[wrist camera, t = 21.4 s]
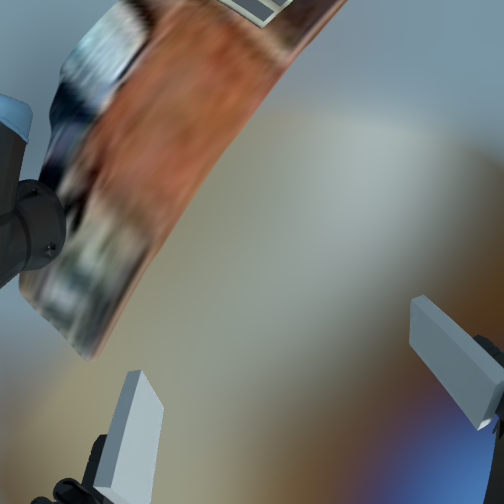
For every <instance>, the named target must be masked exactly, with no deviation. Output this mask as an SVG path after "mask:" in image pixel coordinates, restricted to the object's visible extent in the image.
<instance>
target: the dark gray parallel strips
mask: <svg viewBox="0 0 504 504" xmlns="http://www.w3.org/2000/svg"><path fill="white" fill-rule="evenodd" d="M232 1H233V2H235V3H236V4H238V5H240V6H241V7H243V8H244V9H246V10H247V11H249V12H250V13H252V14H253V15H255V16H256V17H258V18H259V19H260V20H262V21H263V22H264V21H265V20H266V19H267V18H268V17H269V16H270V15H272V14H273V13H274V11H273V10H272V9H270V8H269V7H267V6H266V5H264V4H263V3H261V2H260V1H258V0H232ZM272 1H273V2H275V3H276V4H278V5H279V6H282V5H283V4H284V3H285V2H286V1H287V0H272Z"/></svg>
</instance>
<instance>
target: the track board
mask: <svg viewBox="0 0 504 504" xmlns="http://www.w3.org/2000/svg"><path fill="white" fill-rule="evenodd" d="M219 1H220V2H222V3H224V4H225V5H227V6H228V7H230V8H232V9H233V10H235V11H236V12H238V13H239V14H241V15H242V16H244V17H245V18H247V19H248V20H250V21H251V22H253V23H254V24H255V25H257V26H258V27H260V28H261V29H262V28H263V27H264V26H265V25H266V24H267V23H268V22H269V21H271V20H272V19H273V18H274V17H275V16H276V15H277V14H278V13H279V12H280V11H281V10H283V9H284V8H285V7H286V6H287V5H288V4H289V3H291V2H292V1H293V0H287V1H286V2H285V3H284V4H283V5H282V6H279V5H278V4H276V3H275V2H273V1H272V0H258V1H260V2H261V3H263V4H264V5H266V6H267V7H269V8H270V9H272V10H273V11H274V13H273V14H272V15H270V16H269V17H268V18H267V19H266V20H265V21H264V22H263V21H262V20H260V19H259V18H258V17H256V16H255V15H253V14H252V13H250V12H249V11H247V10H246V9H244V8H243V7H241V6H240V5H238V4H236V3H235V2H233V1H232V0H219Z"/></svg>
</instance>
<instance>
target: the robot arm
mask: <svg viewBox="0 0 504 504" xmlns="http://www.w3.org/2000/svg"><path fill="white" fill-rule="evenodd" d="M32 115H33V114H32V110H31V108H30V107H29V105H28V104H26V103H24V102H22V101H19V100H17V99H14V98H11V97H8V96H5V95H2V94H0V288H2V287H3V286H4V285H5V284H6V283H7V282H9V281H10V280H11V279H12V278H14V277H15V276H16V275H17V274H18V273H20V272H21V271H28V270H35V269H40V268H42V267H44V266H46V265H48V264H49V263H50V262H51V261H53V260H54V259H55V258H56V257H57V256H58V255H59V253H60V251H61V250H62V247H63V245H64V242H65V237H66V219H65V214H64V211H63V208H62V205H61V203H60V201H59V199H58V197H57V196H56V194H55V193H54V192H53V191H52V190H51V189H50V188H49V187H48V186H47V185H45V184H44V183H42V182H40V181H37V180H33V179H27V180H22V181H19V175H20V170H21V166H22V161H23V156H24V152H25V147H26V144H28V142H29V139H28V135H29V131H30V126H31V122H32ZM409 344H410V345H411V346H412V348H413V349H414V350H415V351H416V353H417V354H418V355H419V356H420V357H421V358H422V360H423V361H424V362H425V363H426V365H427V366H428V367H429V368H430V369H431V371H432V372H433V373H434V374H435V376H436V377H437V378H438V380H439V381H440V382H441V383H442V385H443V386H444V387H445V388H446V390H447V391H448V392H449V394H450V395H451V396H452V397H453V399H454V400H455V401H456V403H457V404H458V405H459V407H460V408H461V409H462V410H463V412H464V413H465V414H466V416H467V417H468V418H469V420H470V421H471V422H472V424H473V425H474V427H475V428H476V429H477V430H479V429H481V428H482V427H484V426H486V425H487V424H489V423H490V422H491V421H492V419H493V417H494V414H495V413H496V414H497V415H498V417H499V419H498V421H497V423H496V425H495V427H494V429H493V432H492V433H495V431H496V429H497V432H496V440H495V447H494V454H493V460H492V465H491V471H490V476H489V481H488V485H487V490H486V494H485V498H484V502H483V504H504V353H503V352H501V350H500V349H499V348H497V347H495V345H494V344H493V343H492V342H491V341H490V340H489V339H487V338H485V337H482V336H480V335H477V336H475V337H473V338H471V337H470V336H469V335H468V334H467V333H466V332H465V331H464V330H463V329H462V328H460V327H459V326H458V325H457V324H456V323H455V322H454V321H453V320H452V319H451V318H449V317H448V316H447V315H446V314H445V313H444V312H443V311H442V310H440V309H439V308H438V307H437V306H436V305H435V304H433V303H432V302H431V301H430V300H429V299H428V298H427V297H425V296H424V295H422V296H420V297H417V298H414V299H412V300H411V317H410V340H409ZM163 411H164V407H163V406H162V404H161V402H160V401H159V399H158V398H157V396H156V394H155V392H154V391H153V389H152V387H151V385H150V384H149V382H148V380H147V378H146V377H145V375H144V373H143V371H142V370H137V371H130V372H128V373H127V376H126V379H125V382H124V385H123V388H122V391H121V394H120V397H119V400H118V403H117V406H116V409H115V412H114V415H113V418H112V422H111V425H110V428H109V432H108V434H106V435H100V436H99V437H98V438H97V440H96V441H95V442H94V444H93V447H92V450H91V455H90V456H89V462H88V463H87V466H86V470H85V473H84V476H83V480H82V483H81V484H80V483H79V482H77V481H76V480H74V479H72V478H65V479H62V480H60V481H59V482H58V483H57V484H56V486H55V487H54V490H53V497H54V499H55V500H56V501H58V502H51V501H50V500H49V499H48V498H46V497H37V498H35V499H34V500H33V501H32V502H31V504H150V502H151V494H152V486H153V478H154V470H155V463H156V456H157V449H158V442H159V435H160V429H161V423H162V417H163Z"/></svg>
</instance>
